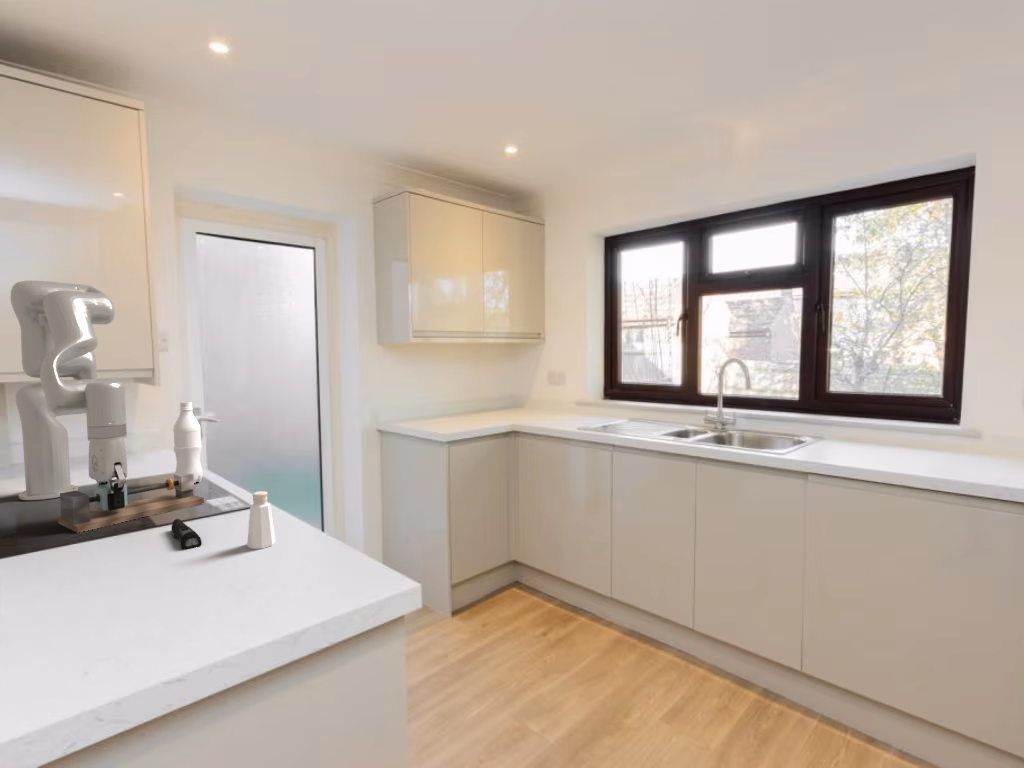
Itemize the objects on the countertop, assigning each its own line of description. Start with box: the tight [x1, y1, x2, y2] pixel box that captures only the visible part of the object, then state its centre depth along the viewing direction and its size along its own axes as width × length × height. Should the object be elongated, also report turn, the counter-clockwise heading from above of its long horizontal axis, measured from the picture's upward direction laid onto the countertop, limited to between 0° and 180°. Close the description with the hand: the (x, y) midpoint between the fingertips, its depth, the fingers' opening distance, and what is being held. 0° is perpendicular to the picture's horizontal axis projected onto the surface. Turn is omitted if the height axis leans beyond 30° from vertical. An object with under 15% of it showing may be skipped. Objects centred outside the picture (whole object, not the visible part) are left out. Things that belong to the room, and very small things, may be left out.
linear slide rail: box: [57, 472, 205, 534], centre depth 132 cm, size 27×12×8 cm, turn 146°
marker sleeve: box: [93, 482, 129, 510], centre depth 128 cm, size 5×5×5 cm
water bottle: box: [172, 401, 204, 484], centre depth 161 cm, size 7×7×25 cm
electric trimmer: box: [171, 518, 203, 551], centre depth 114 cm, size 4×16×3 cm, turn 42°
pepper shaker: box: [246, 490, 277, 550], centre depth 110 cm, size 5×5×11 cm
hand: (111, 506), depth 128 cm, fingers open, 5 cm apart
